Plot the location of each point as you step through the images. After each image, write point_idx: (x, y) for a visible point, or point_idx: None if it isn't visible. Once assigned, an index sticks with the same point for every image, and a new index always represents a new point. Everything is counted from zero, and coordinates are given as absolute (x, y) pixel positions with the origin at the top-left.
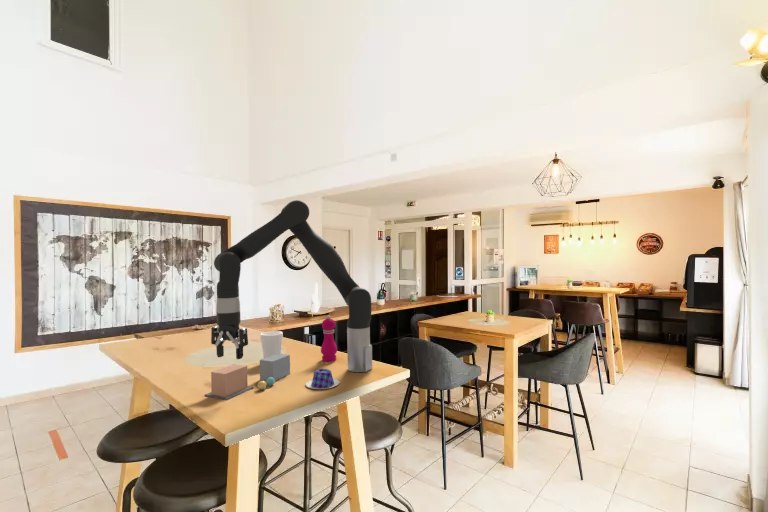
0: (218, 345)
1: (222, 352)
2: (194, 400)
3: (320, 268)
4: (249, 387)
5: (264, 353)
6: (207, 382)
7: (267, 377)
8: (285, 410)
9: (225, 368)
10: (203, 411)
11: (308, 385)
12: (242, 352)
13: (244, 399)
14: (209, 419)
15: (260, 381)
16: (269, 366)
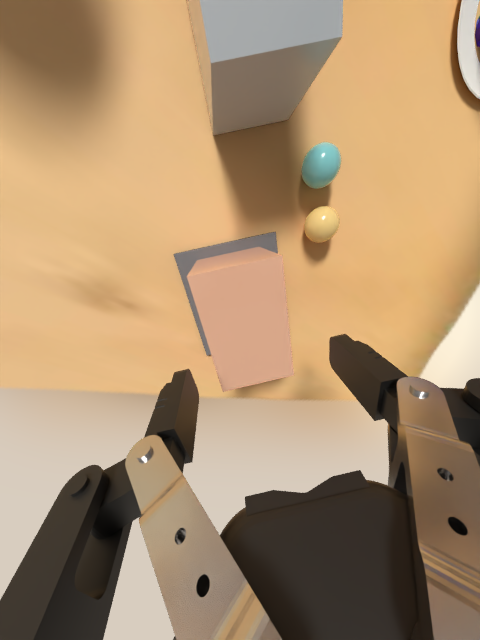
0: (181, 471)
1: (187, 391)
2: (216, 378)
3: None
4: (268, 245)
5: None
6: (74, 290)
7: (259, 118)
8: (462, 294)
9: (226, 340)
10: (293, 390)
11: (470, 68)
12: (381, 362)
13: (323, 308)
14: (335, 397)
15: (325, 230)
16: (290, 74)
